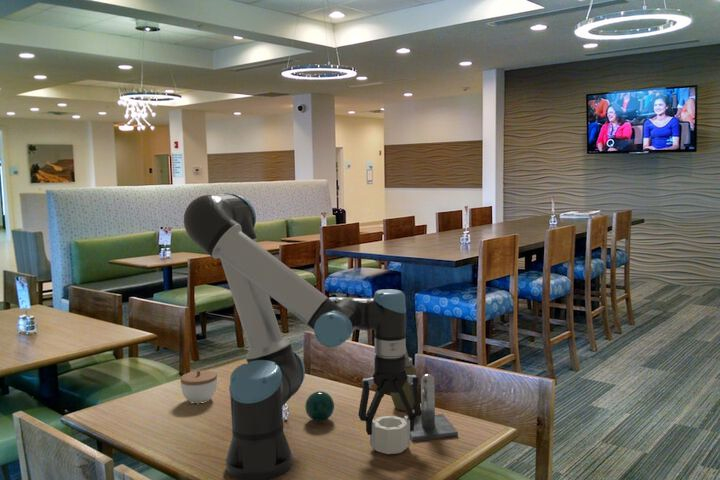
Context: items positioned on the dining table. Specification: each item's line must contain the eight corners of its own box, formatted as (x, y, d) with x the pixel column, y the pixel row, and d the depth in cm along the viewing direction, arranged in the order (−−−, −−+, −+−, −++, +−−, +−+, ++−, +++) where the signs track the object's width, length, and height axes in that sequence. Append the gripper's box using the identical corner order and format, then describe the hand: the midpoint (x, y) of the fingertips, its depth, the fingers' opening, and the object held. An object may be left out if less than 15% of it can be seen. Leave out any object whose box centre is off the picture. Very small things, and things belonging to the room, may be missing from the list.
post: (412, 441, 149) (411, 383, 148) (400, 422, 161) (399, 369, 159) (457, 436, 151) (457, 379, 150) (442, 418, 163) (442, 365, 162)
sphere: (324, 412, 169) (323, 385, 169) (340, 421, 163) (339, 392, 162) (300, 419, 165) (299, 391, 164) (315, 428, 158) (314, 399, 157)
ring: (377, 455, 140) (377, 430, 140) (370, 440, 148) (370, 417, 148) (410, 452, 142) (410, 427, 141) (401, 437, 150) (401, 414, 149)
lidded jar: (188, 394, 187) (186, 365, 186) (222, 394, 186) (220, 364, 185) (176, 407, 176) (174, 376, 175) (212, 407, 176) (210, 376, 175)
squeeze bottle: (417, 413, 167) (416, 351, 165) (389, 412, 168) (387, 350, 166) (420, 403, 174) (419, 343, 173) (393, 401, 176) (392, 342, 174)
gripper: (350, 361, 137) (350, 456, 139) (436, 356, 141) (435, 448, 143) (345, 352, 144) (345, 442, 147) (426, 347, 148) (426, 435, 151)
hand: (389, 445), depth 145 cm, fingers closed on ring, 8 cm apart
